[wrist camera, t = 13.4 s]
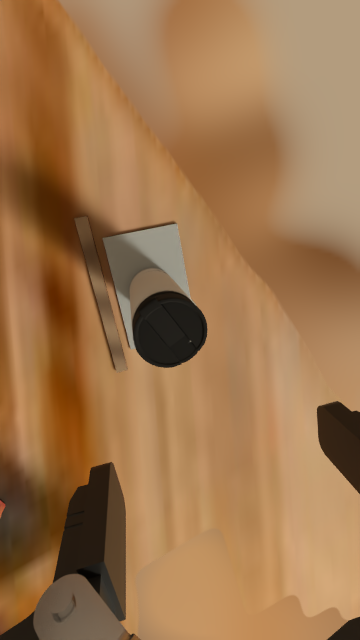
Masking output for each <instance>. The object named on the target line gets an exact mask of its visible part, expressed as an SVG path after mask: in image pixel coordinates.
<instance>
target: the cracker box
mask: <svg viewBox="0 0 360 640" xmlns="http://www.w3.org/2000/svg"><path fill="white" fill-rule="evenodd" d="M4 508H5V504H4V503H3V502H2V501H1V500H0V517H1V514H2V512H3V510H4Z"/></svg>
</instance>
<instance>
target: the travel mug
mask: <svg viewBox="0 0 360 640" xmlns="http://www.w3.org/2000/svg"><path fill="white" fill-rule="evenodd" d="M129 292H130V308H131V324H132V332H133V341H134V345H135V348H136V350H137V352H138V353H139V355H140V356H141V357H142V358H143V359H144V360H145V361H147V362H148V363H150V364H152V365H155V366H158V367H164V368H169V367H175V366H177V365H180V364H181V363H184V362H186V361H188V360H190V359H191V358H192V357H193V356H195V355H196V354H197V352H198V351H199V350H200V349H201V348H202V346H203V345H204V343H205V340H206V337H207V323H206V319H205V317H204V315H203V313H202V311H201V310H200V309H199V308H198V307H197V306H196V304H195V303H194V302H193V301H192V300H191V298H190V297H189V296H188V295H187V294H186V293H185V292H184V291H183V290H182V289H181V288H180V287H179V286H178V284H177V283H176V282H175V281H174V280H173V279H172V278H171V277H170V276H169V275H168V274H167V273H166V272H165V271H163V270H161V269H158V268H146V269H143V270H141V271H139V272H138V273H137V274H136V275H135V276H134V277H133V279H132V281H131V283H130V290H129Z"/></svg>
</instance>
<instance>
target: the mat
mask: <svg viewBox="0 0 360 640" xmlns="http://www.w3.org/2000/svg"><path fill="white" fill-rule="evenodd" d="M103 242H104V246H105V250H106V254H107V258H108V262H109V266H110V269H111V273H112V277H113V281H114V285H115V289H116V293H117V297H118V301H119V305H120V309H121V313H122V317H123V321H124V325H125V328H126V332H127V336H128V340H129V344H130V348H131V349H135V345H134V341H133V332H132V324H131V308H130V292H129V290H130V283H131V281H132V279H133V277H134V276H135V275H136V274H137V273H138V272H139V271H141V270H143V269H146V268H158V269H161V270H163V271H165V272H166V273H167V274H168V275H169V276H170V277H171V278H172V279H173V280H174V281H175V282H176V283H177V284H178V286H179V287H180V288H181V289H182V290H183V291H184V292H185V293H186V294H187V295H188V296H189V297H190V293H189V287H188V282H187V276H186V270H185V265H184V259H183V254H182V248H181V243H180V237H179V232H178V226H177V224H172V225H167V226H162V227H156V228H151V229H146V230H141V231H136V232H131V233H126V234H121V235H116V236H111V237H106V238H103Z"/></svg>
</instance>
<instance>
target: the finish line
mask: <svg viewBox="0 0 360 640" xmlns="http://www.w3.org/2000/svg"><path fill="white" fill-rule="evenodd" d="M74 220H75V223H76V227H77V231H78V234H79V238H80V241H81V245H82V249H83V252H84V256H85V260H86V263H87V267H88V270H89V274H90V278H91V281H92V285H93V288H94V292H95V296H96V299H97V303H98V307H99V310H100V314H101V317H102V321H103V325H104V328H105V332H106V335H107V339H108V343H109V346H110V350H111V354H112V357H113V361H114V364H115V368H116V372H117V373H118V372H122V371H126V370H128V368H127V365H126V361H125V357H124V353H123V349H122V346H121V342H120V338H119V334H118V330H117V327H116V323H115V319H114V315H113V311H112V308H111V304H110V300H109V296H108V292H107V289H106V285H105V281H104V277H103V274H102V270H101V266H100V262H99V258H98V255H97V251H96V247H95V243H94V239H93V236H92V232H91V228H90V224H89V220H88V217H87V216H84V217H79V218H74Z"/></svg>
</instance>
